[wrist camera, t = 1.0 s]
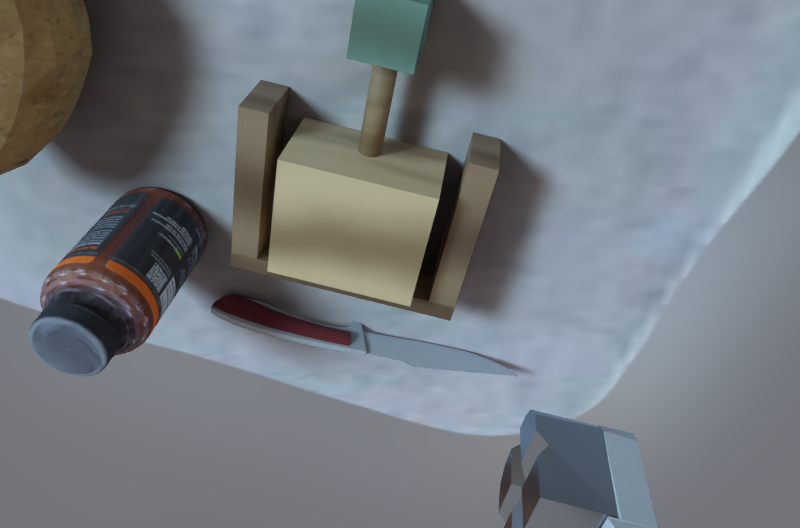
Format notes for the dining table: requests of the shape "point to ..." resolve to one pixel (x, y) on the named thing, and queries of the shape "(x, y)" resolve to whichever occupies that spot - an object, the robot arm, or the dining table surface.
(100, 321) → the supplement bottle
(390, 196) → the oak block with dowel handle
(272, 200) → the tan piece
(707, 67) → the dining table surface
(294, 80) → the dining table surface
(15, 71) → the potato
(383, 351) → the knife
